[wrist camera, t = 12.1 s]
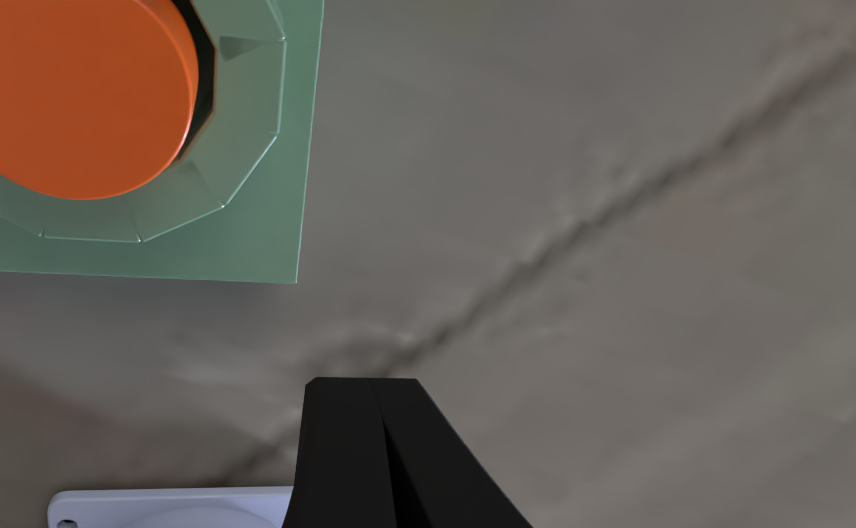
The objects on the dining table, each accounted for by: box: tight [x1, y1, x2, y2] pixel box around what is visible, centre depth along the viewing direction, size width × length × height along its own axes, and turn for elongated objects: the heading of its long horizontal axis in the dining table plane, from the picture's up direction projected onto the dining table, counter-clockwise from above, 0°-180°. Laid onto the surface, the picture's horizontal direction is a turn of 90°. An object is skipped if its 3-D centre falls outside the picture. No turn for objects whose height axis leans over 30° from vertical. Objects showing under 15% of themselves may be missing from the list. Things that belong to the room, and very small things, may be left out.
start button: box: [0, 0, 199, 200], centre depth 13 cm, size 4×4×2 cm
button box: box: [0, 0, 325, 284], centre depth 15 cm, size 10×8×4 cm
